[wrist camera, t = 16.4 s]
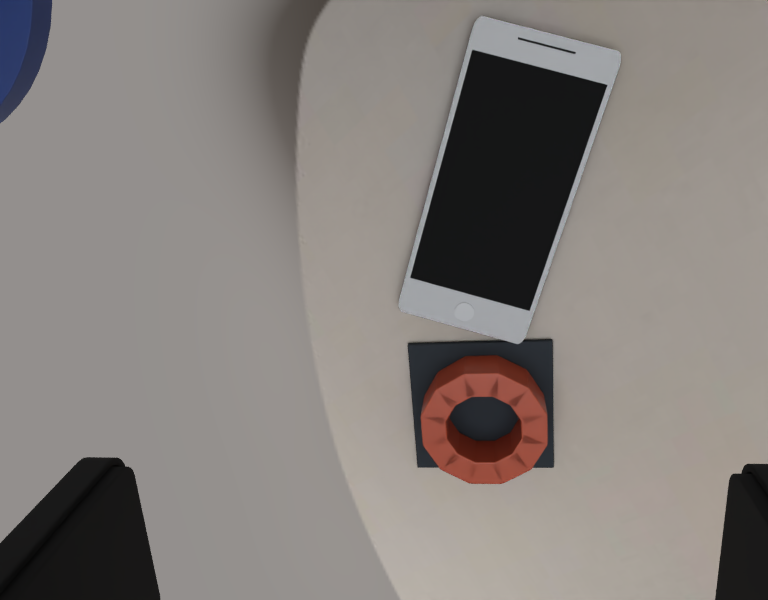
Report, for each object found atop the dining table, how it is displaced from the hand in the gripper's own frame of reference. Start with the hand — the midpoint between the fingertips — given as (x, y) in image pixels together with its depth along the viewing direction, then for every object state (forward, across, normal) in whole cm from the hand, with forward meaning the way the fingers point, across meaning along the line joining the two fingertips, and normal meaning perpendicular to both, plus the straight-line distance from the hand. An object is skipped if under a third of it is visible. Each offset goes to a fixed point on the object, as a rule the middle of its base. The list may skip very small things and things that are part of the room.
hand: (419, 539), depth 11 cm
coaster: (+27, -1, +12) cm, 30 cm away
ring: (+27, -1, +12) cm, 30 cm away
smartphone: (+27, -2, 0) cm, 27 cm away
